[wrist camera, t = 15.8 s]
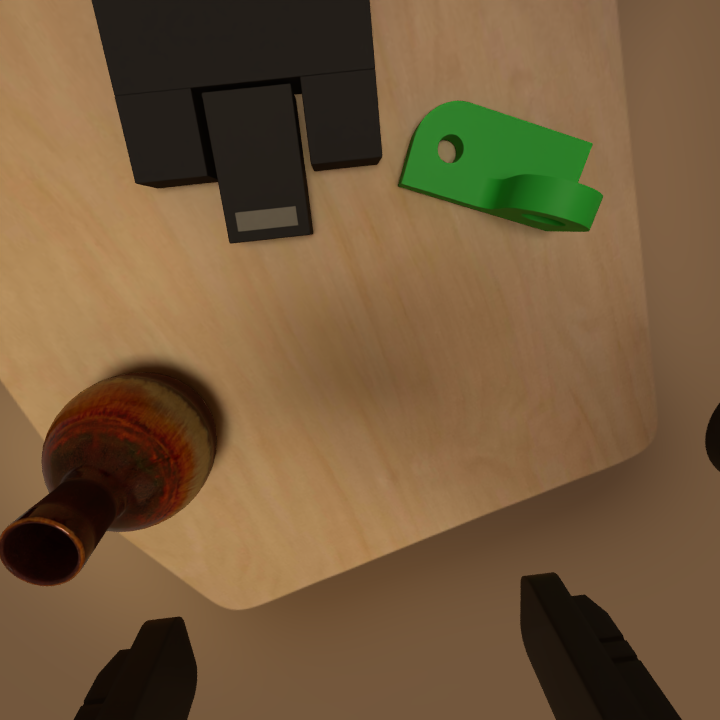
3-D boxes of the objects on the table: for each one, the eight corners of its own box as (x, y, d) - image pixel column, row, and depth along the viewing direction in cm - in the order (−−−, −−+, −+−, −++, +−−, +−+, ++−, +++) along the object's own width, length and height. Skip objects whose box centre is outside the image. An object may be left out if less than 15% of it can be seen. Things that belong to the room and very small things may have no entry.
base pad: (357, -77, 27) (359, -119, 24) (377, 164, 31) (382, 156, 28) (102, -51, 27) (69, -90, 24) (157, 188, 31) (135, 183, 28)
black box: (296, 99, 30) (290, 82, 27) (313, 234, 33) (310, 234, 29) (216, 107, 30) (200, 92, 26) (240, 242, 33) (229, 243, 29)
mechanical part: (577, 148, 32) (653, 123, 24) (546, 231, 33) (608, 232, 26) (422, 97, 30) (450, 53, 23) (397, 186, 32) (416, 172, 24)
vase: (68, 433, 36) (-118, 574, 22) (136, 331, 34) (-18, 411, 19) (183, 501, 39) (86, 670, 24) (254, 410, 36) (196, 534, 22)
